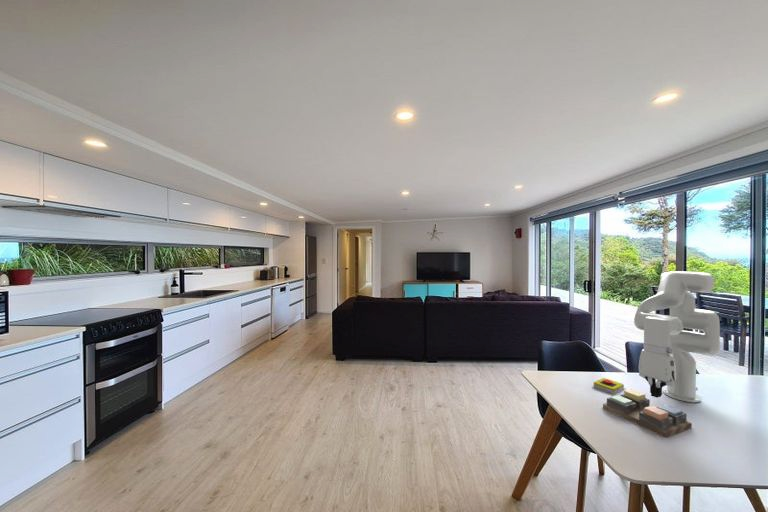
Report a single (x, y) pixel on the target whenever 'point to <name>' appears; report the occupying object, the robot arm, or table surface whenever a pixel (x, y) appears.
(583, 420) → the table surface
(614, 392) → the emergency button
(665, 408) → the slate button
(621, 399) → the sage button
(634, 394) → the mustard button
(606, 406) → the console
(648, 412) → the terracotta button
